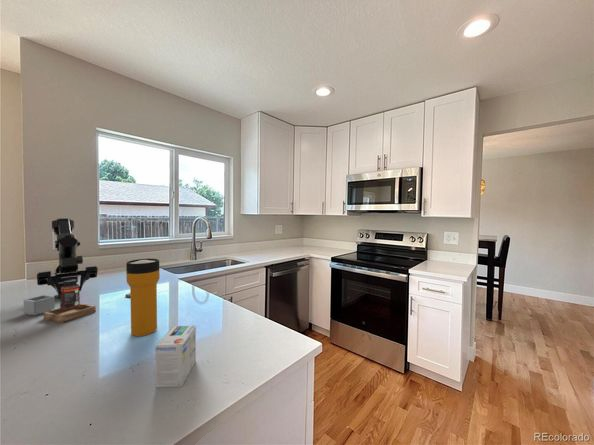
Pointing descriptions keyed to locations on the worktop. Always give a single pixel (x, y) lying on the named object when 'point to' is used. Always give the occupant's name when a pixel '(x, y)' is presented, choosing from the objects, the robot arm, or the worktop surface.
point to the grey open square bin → (39, 304)
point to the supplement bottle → (69, 295)
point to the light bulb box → (175, 356)
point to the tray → (69, 313)
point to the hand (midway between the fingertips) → (70, 292)
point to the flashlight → (143, 295)
